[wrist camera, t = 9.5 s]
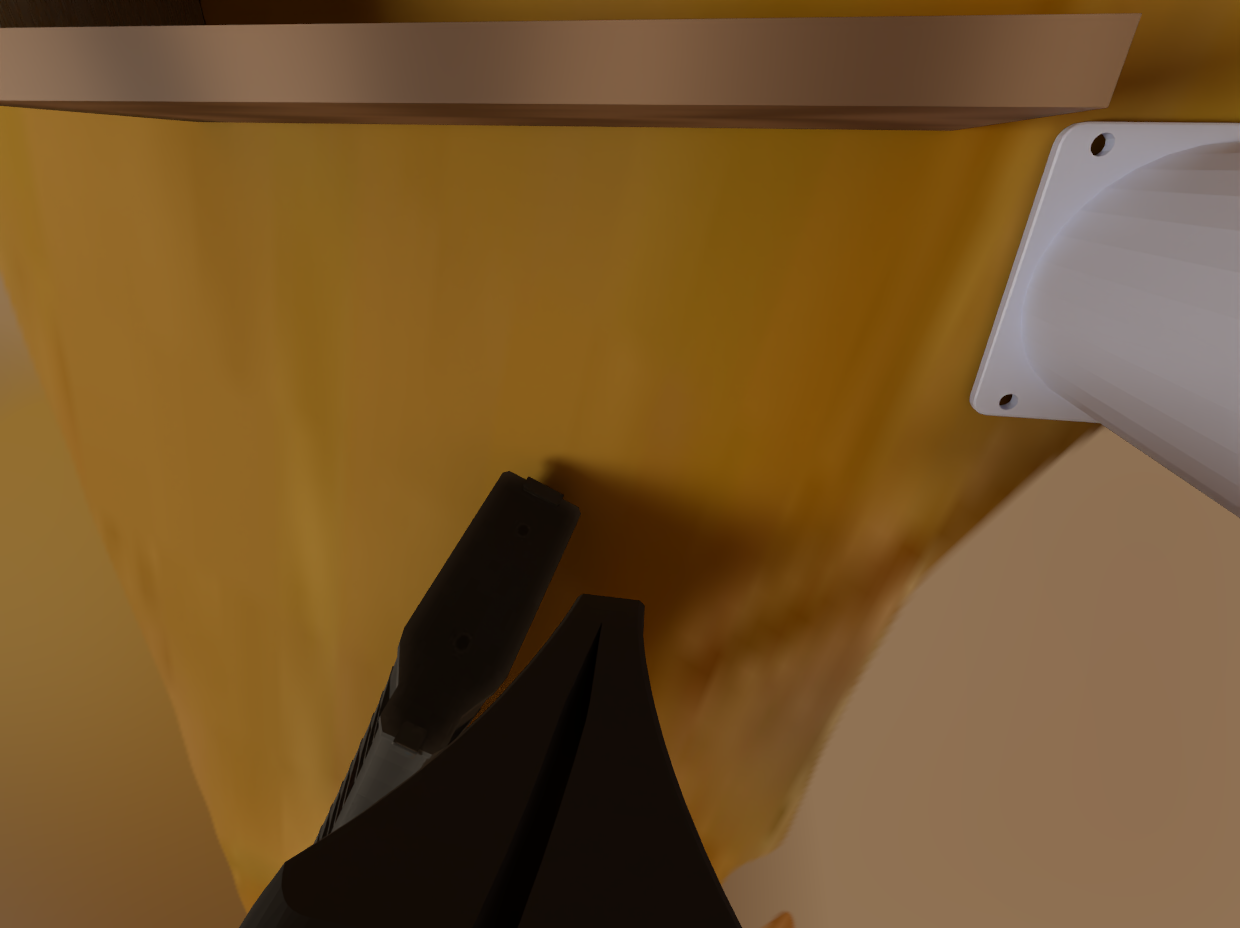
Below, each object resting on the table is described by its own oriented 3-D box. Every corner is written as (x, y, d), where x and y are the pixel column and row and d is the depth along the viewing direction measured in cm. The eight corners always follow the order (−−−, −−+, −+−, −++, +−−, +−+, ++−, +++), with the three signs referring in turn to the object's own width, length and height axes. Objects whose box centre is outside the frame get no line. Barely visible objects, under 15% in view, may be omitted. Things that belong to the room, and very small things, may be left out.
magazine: (433, 545, 13) (66, 1272, 19) (559, 608, 13) (158, 1303, 19) (543, 426, 30) (328, 835, 36) (597, 455, 30) (375, 855, 36)
